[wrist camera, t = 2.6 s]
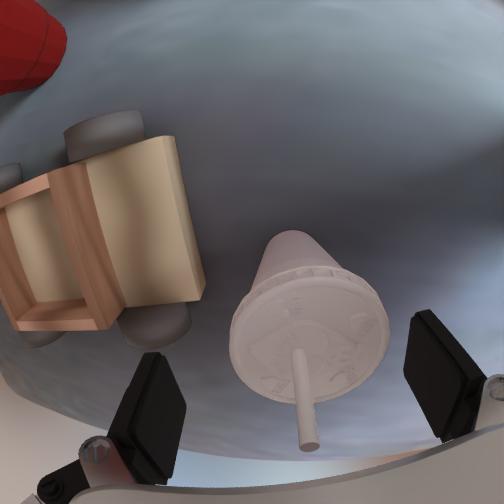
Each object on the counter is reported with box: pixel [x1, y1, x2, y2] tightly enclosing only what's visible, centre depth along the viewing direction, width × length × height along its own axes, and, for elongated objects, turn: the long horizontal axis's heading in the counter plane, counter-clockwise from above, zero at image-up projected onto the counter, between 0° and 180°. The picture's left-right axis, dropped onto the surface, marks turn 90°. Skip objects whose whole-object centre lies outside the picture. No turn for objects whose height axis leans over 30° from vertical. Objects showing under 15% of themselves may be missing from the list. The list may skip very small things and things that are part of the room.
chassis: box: [0, 110, 206, 350], centre depth 17 cm, size 18×14×5 cm
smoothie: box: [229, 230, 390, 452], centre depth 13 cm, size 6×6×14 cm
